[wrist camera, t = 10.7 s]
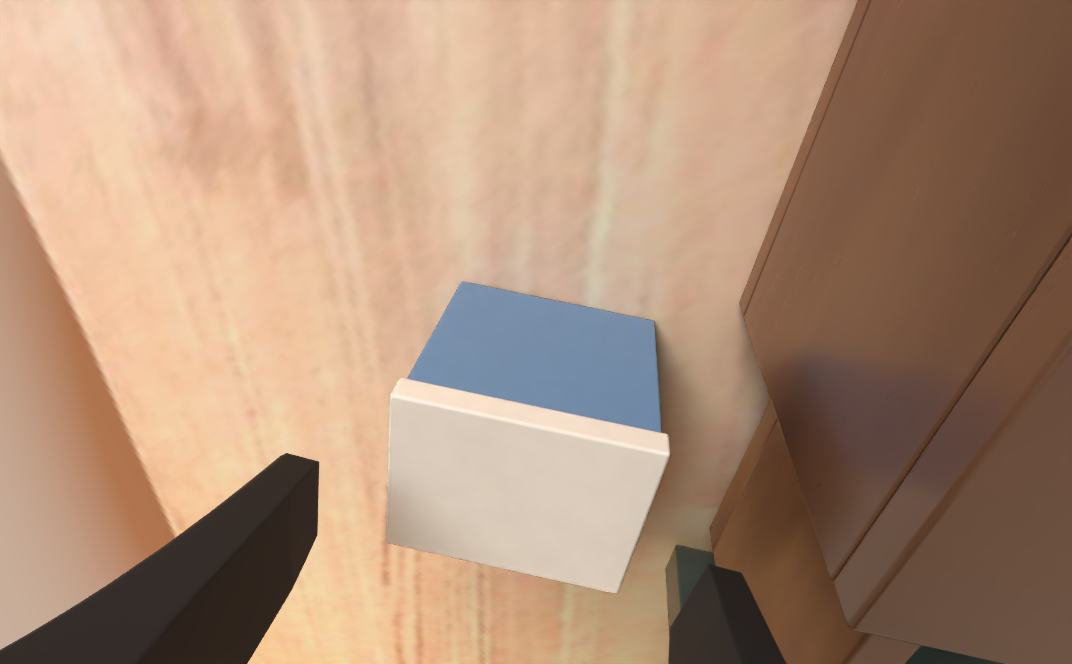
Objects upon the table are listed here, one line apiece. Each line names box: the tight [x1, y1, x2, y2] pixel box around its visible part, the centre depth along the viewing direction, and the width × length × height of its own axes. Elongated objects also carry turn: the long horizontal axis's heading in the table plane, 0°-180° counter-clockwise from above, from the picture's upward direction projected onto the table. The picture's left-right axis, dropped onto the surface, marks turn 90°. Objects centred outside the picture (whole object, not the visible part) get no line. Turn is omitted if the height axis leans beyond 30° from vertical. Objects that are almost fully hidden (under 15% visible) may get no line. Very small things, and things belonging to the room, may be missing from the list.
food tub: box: [386, 282, 670, 594], centre depth 14 cm, size 4×5×5 cm
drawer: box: [666, 400, 1003, 664], centre depth 13 cm, size 17×10×7 cm, turn 171°
